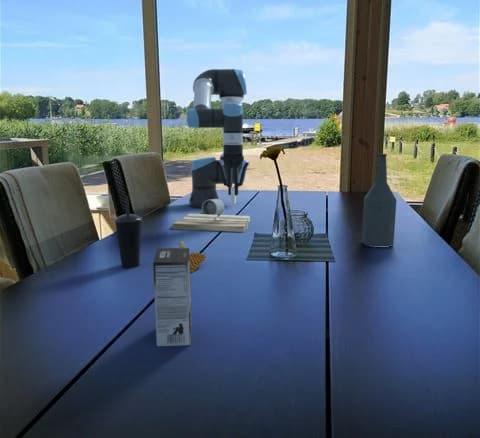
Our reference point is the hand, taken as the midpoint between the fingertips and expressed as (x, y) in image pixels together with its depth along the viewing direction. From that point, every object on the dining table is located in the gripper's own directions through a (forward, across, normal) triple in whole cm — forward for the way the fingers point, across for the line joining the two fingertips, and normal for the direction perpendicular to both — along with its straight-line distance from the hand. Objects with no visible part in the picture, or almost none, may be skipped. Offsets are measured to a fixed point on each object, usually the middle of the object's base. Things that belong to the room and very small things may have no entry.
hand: (233, 203), depth 182 cm
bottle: (+8, +54, -24) cm, 60 cm away
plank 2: (+8, 0, -1) cm, 8 cm away
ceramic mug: (+9, -13, +13) cm, 20 cm away
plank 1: (+8, -14, -1) cm, 16 cm away
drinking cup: (+7, -17, -61) cm, 63 cm away
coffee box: (+6, +10, -100) cm, 100 cm away
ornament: (+7, -1, -57) cm, 58 cm away
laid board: (+8, -7, -10) cm, 15 cm away
